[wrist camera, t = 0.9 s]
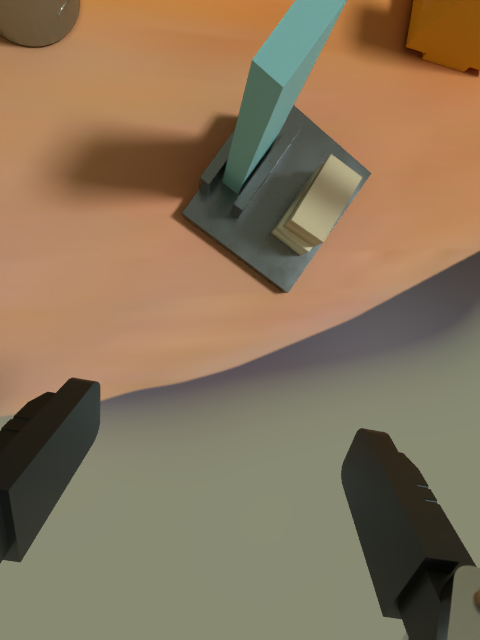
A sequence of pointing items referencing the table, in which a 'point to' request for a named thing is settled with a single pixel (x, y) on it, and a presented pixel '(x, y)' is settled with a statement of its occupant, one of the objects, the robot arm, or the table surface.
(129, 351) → the table surface
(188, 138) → the table surface
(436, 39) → the bracket
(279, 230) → the block
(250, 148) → the teal rectangular slab
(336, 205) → the offcut top
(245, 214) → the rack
